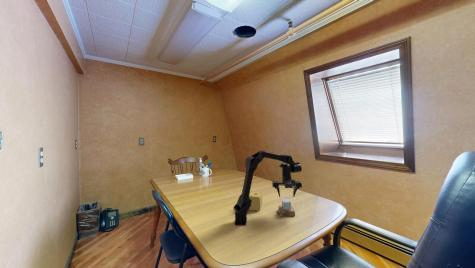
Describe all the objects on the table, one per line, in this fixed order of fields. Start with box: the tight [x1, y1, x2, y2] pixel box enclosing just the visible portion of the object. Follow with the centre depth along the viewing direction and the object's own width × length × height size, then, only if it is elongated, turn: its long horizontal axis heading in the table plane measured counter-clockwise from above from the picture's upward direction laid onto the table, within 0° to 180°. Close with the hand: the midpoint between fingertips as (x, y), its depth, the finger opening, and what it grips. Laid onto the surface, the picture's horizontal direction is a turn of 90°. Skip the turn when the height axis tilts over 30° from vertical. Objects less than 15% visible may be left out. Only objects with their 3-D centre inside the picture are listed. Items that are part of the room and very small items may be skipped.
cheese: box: [248, 191, 264, 212], centre depth 137 cm, size 10×11×10 cm
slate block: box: [281, 198, 292, 210], centre depth 127 cm, size 5×5×5 cm
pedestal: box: [278, 205, 296, 217], centre depth 128 cm, size 9×9×3 cm
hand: (286, 196), depth 127 cm, fingers open, 9 cm apart
